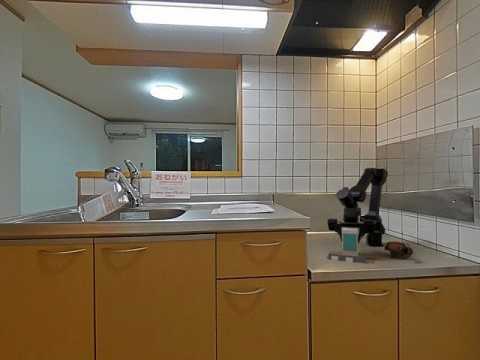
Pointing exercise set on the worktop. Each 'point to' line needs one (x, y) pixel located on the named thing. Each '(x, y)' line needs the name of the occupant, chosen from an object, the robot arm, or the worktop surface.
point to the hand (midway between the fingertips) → (349, 242)
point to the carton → (350, 242)
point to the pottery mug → (398, 250)
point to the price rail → (347, 258)
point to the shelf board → (368, 257)
